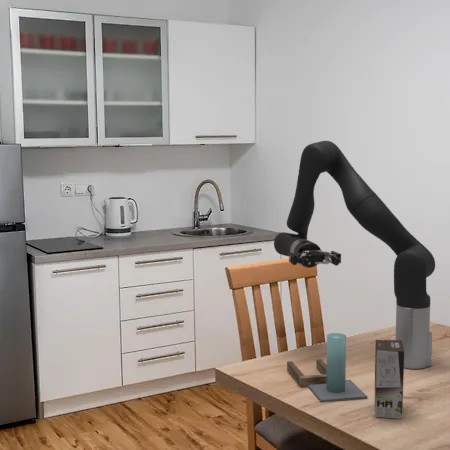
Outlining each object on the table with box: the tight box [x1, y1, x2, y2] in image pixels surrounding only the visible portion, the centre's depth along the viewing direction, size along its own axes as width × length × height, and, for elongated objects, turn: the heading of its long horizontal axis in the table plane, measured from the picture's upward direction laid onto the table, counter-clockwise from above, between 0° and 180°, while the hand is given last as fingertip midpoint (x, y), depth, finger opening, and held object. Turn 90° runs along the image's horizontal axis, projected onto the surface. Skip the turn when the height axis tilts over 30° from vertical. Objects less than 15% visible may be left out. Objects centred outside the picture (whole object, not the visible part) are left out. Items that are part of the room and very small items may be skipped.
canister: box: [326, 332, 347, 393], centre depth 174 cm, size 5×5×14 cm
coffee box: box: [374, 339, 405, 420], centre depth 162 cm, size 9×6×16 cm
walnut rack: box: [286, 358, 327, 388], centre depth 185 cm, size 10×14×2 cm
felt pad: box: [307, 379, 368, 403], centre depth 175 cm, size 12×12×1 cm
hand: (322, 262), depth 189 cm, fingers open, 8 cm apart
